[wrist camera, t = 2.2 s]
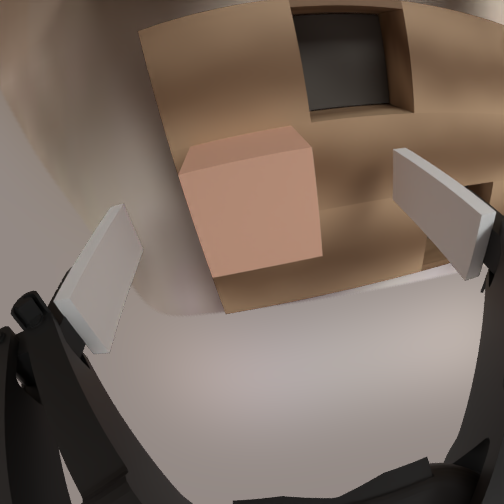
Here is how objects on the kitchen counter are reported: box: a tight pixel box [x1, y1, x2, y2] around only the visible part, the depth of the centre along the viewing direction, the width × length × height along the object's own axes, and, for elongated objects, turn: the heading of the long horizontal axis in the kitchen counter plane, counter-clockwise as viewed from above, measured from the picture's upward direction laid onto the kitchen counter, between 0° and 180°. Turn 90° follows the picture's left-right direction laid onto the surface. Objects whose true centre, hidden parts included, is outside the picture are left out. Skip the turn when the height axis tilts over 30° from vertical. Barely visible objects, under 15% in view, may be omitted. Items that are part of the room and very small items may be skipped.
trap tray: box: [138, 0, 504, 314], centre depth 15 cm, size 18×28×6 cm, turn 101°
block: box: [178, 126, 323, 278], centre depth 14 cm, size 5×5×4 cm
